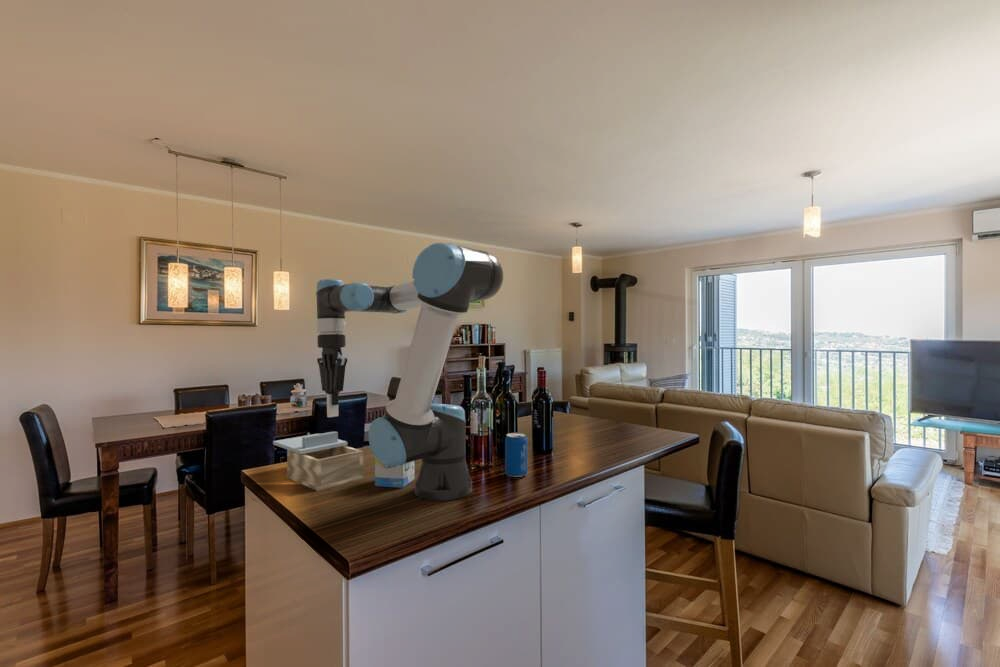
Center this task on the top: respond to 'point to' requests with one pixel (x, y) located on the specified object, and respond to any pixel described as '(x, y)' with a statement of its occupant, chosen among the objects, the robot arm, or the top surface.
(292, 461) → the open wooden box
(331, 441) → the lid
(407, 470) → the ink box
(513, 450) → the beverage can
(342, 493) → the top surface
